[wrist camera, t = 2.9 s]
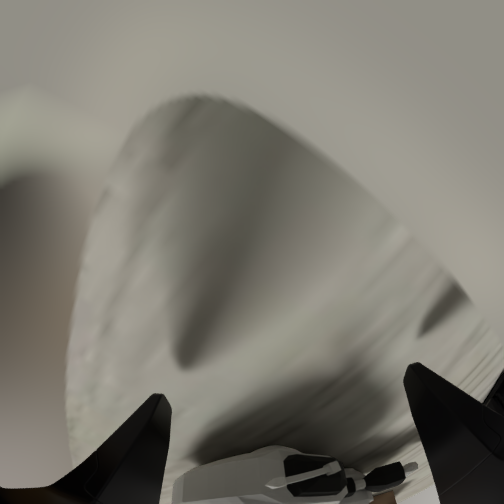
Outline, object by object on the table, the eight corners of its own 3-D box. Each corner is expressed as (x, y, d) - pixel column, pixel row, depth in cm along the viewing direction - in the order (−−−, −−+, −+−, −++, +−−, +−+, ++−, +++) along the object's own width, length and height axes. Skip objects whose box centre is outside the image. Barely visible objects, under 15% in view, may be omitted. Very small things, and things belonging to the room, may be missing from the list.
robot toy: (415, 432, 14) (251, 399, 10) (434, 477, 10) (258, 501, 6) (306, 490, 18) (151, 466, 14) (312, 527, 14) (145, 517, 9)
